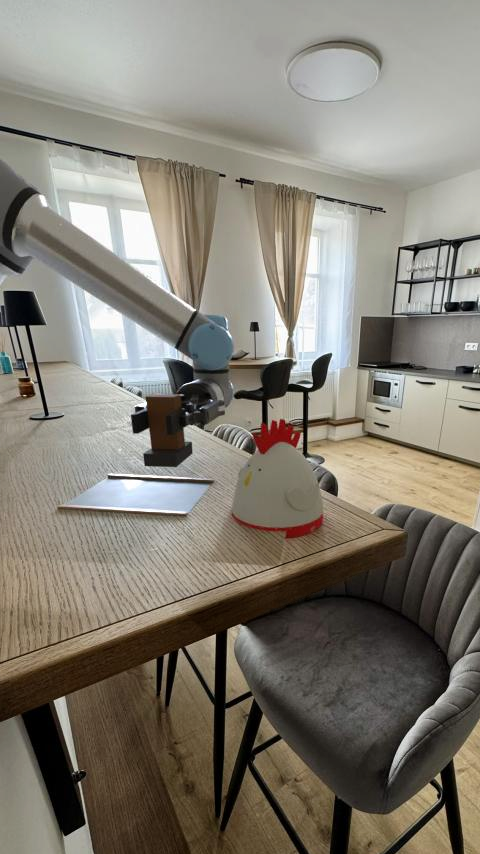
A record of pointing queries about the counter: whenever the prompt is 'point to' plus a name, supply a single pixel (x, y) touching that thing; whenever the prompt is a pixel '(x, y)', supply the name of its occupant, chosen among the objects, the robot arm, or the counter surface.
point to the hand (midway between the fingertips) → (151, 424)
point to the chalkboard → (142, 495)
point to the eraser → (164, 433)
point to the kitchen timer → (278, 486)
